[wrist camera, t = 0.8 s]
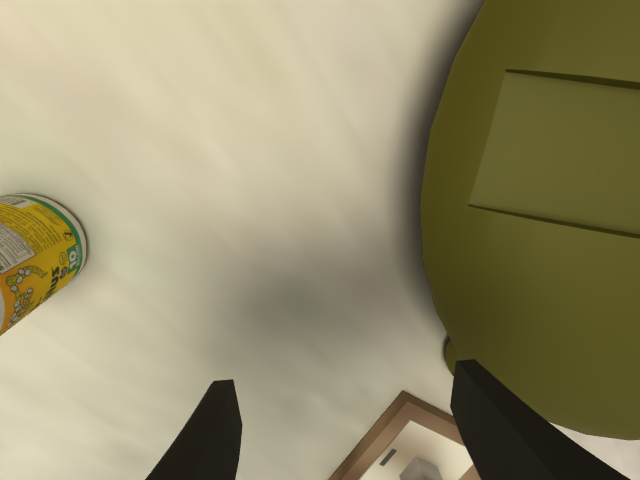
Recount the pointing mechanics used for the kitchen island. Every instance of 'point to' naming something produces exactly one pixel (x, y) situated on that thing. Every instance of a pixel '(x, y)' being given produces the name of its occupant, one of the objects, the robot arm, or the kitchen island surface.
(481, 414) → the robot arm
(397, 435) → the board
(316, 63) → the kitchen island surface
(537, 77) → the green turtle
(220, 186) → the kitchen island surface
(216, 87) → the kitchen island surface
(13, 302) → the supplement bottle
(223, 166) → the kitchen island surface
